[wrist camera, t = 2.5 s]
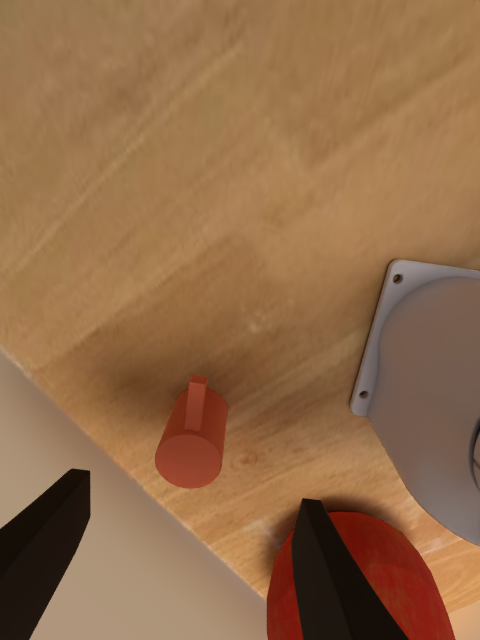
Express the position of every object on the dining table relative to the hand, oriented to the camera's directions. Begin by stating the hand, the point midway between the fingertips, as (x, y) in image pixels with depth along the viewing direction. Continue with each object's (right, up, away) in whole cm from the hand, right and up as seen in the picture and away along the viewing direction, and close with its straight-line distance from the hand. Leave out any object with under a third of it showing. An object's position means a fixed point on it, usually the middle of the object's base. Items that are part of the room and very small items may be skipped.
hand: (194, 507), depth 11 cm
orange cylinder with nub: (-1, +2, +9) cm, 10 cm away
